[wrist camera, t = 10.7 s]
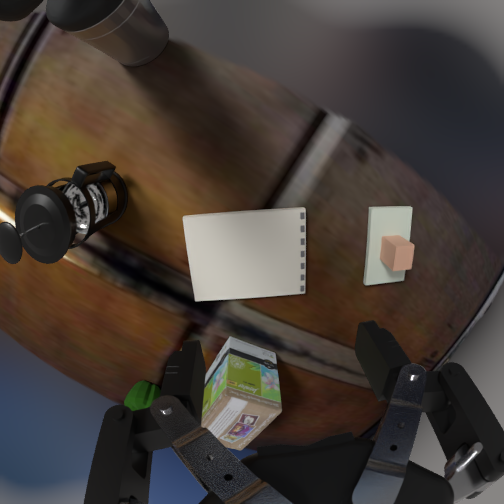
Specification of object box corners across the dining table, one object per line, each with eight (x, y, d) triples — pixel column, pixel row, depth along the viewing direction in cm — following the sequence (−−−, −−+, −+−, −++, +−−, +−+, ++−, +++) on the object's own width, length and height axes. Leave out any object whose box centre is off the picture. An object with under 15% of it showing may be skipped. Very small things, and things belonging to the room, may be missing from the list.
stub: (363, 282, 47) (376, 299, 42) (368, 207, 42) (385, 216, 37) (401, 278, 47) (417, 293, 42) (409, 206, 43) (428, 215, 37)
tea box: (227, 333, 50) (224, 395, 36) (276, 351, 52) (286, 411, 38) (198, 383, 55) (190, 439, 41) (241, 397, 57) (242, 452, 43)
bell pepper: (149, 371, 53) (137, 406, 44) (174, 394, 56) (166, 429, 47) (124, 381, 54) (111, 413, 45) (148, 403, 57) (139, 435, 48)
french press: (111, 238, 43) (29, 311, 21) (70, 209, 41) (-25, 260, 19) (143, 177, 40) (55, 212, 18) (98, 147, 38) (-7, 161, 16)
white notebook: (196, 297, 47) (195, 301, 46) (184, 215, 42) (182, 218, 41) (303, 289, 47) (305, 293, 46) (303, 207, 42) (305, 209, 41)
